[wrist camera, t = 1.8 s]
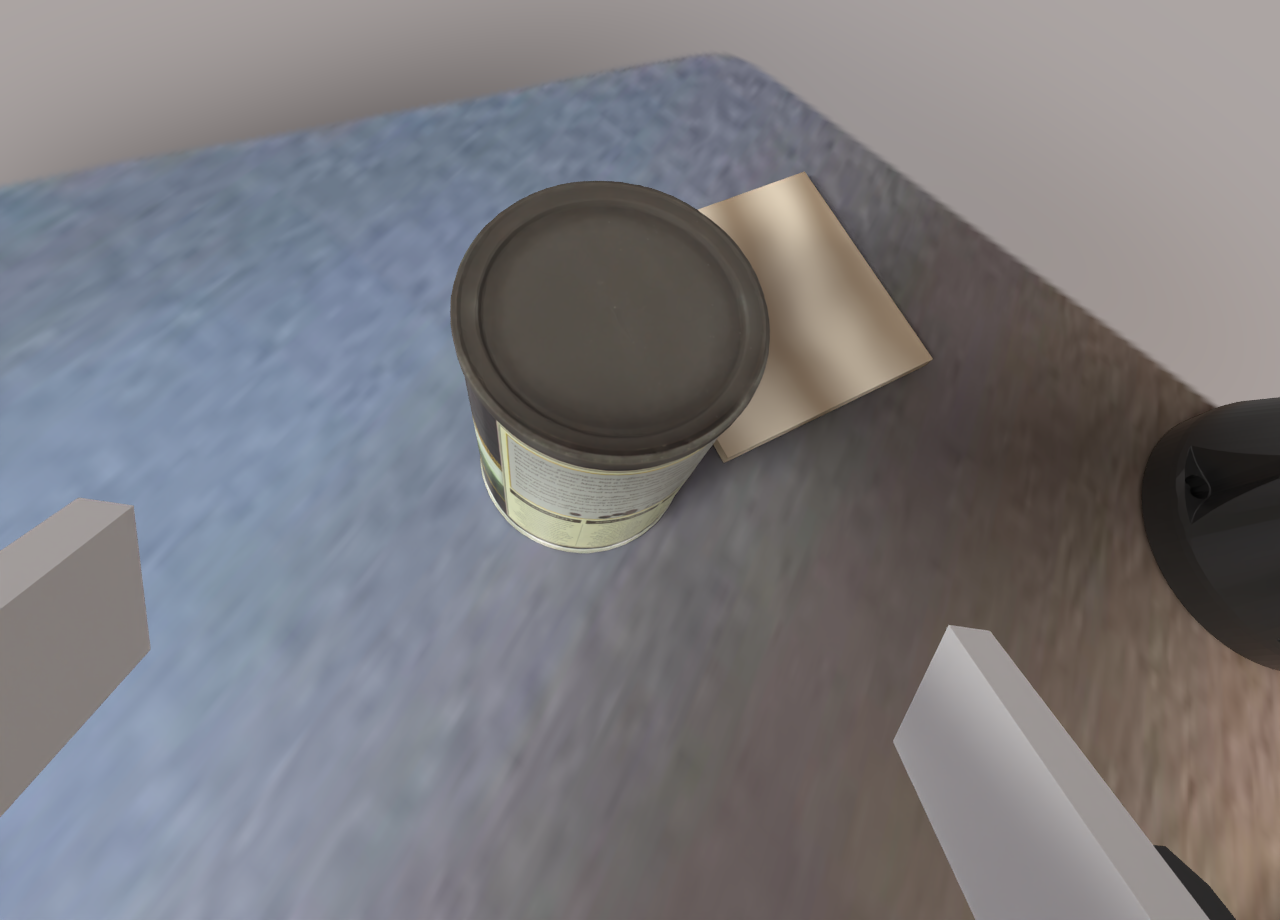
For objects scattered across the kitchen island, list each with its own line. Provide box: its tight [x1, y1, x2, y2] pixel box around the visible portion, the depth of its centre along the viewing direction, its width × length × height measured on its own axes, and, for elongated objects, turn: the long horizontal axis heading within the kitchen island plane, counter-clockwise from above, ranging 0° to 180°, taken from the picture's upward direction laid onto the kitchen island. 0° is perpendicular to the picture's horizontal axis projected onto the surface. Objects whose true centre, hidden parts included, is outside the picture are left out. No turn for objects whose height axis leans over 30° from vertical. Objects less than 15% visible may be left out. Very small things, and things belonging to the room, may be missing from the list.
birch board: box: [698, 172, 932, 463], centre depth 39 cm, size 14×14×1 cm
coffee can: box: [450, 181, 770, 553], centre depth 29 cm, size 10×10×14 cm
